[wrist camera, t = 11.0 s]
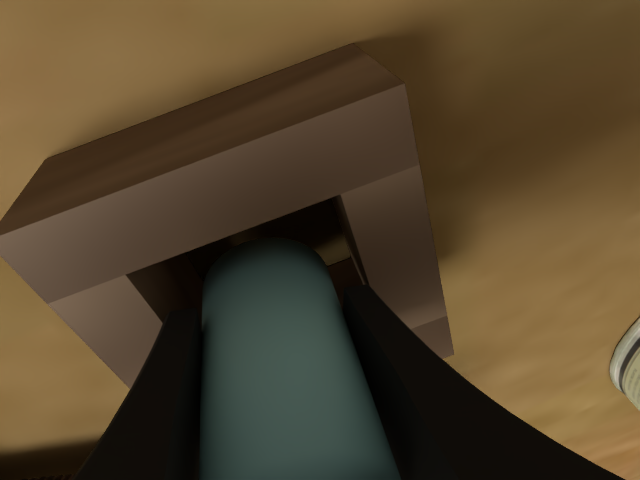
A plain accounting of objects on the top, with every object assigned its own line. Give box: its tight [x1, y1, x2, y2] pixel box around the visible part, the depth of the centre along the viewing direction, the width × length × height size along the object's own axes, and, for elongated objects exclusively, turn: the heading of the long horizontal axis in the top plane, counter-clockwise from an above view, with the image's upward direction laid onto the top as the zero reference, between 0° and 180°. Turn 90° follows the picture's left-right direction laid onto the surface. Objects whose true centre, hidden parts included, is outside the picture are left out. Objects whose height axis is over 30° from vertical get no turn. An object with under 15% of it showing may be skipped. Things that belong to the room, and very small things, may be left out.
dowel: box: [199, 238, 401, 480], centre depth 10 cm, size 4×4×6 cm
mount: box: [0, 43, 454, 389], centre depth 15 cm, size 18×9×5 cm, turn 17°
